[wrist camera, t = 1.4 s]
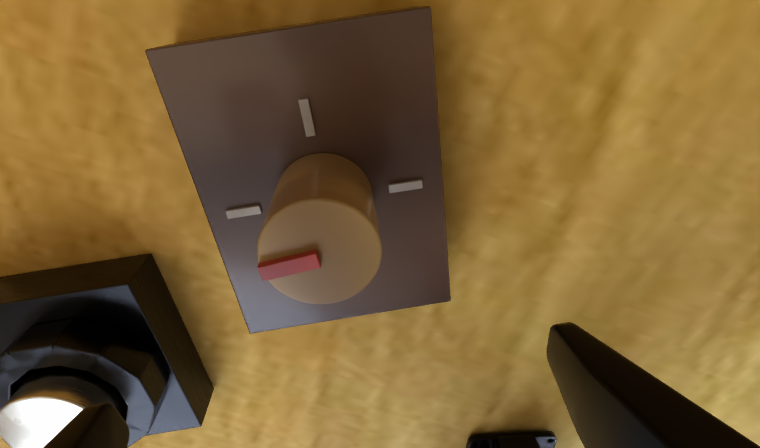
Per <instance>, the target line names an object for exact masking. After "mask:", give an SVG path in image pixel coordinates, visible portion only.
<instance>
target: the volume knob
mask: <svg viewBox="0 0 760 448" xmlns="http://www.w3.org/2000/svg"><path fill="white" fill-rule="evenodd" d="M257 257H258V262H259V264H258V267H257V269H258V271H259V273H260V275H261V278H262V280H263V281H267V280H268V281H269V282H270V283H271V284H272V285H273V287H275V288H276V289H277V290H278V291H280V292H281V293H283V294H284V295H286V296H288V297H290V298H292V299H295V300H297V301H301V302H305V303H310V304H330V303H336V302H340V301H343V300H346V299H348V298H351V297H352V296H354V295H356V294H358V293H359V292H360V291H362V290H363V289H364V288H365V287H366V286H367V285H368V284H369V283H370V282H371V281H372V279H373V278H374V276H375V275H376V273H377V271H378V269H379V266H380V263H381V258H382V244H381V239H380V233H379V227H378V221H377V216H376V210H375V204H374V199H373V193H372V188H371V185H370V182H369V180H368V178H367V176H366V175H365V173H364V172H363V171H362V170H361V169H360V168H359V167H358V166H357V165H356V164H355V163H353V162H352V161H350V160H349V159H346V158H344V157H342V156H339V155H335V154H330V153H316V154H311V155H307V156H304V157H302V158H300V159H298V160H296V161H295V162H293V163H292V164H291V165H290V166H288V167H287V169H286V170H285V171H284V172H283V174H282V175H281V177H280V179H279V181H278V184H277V186H276V189H275V192H274V195H273V198H272V200H271V203H270V206H269V209H268V212H267V215H266V217H265V220H264V223H263V226H262V229H261V231H260V234H259V238H258V242H257Z"/></svg>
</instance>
